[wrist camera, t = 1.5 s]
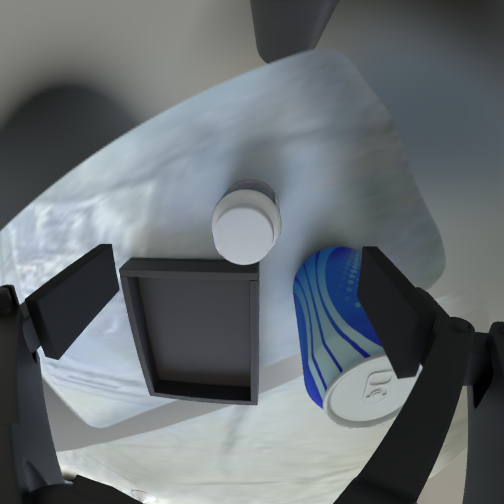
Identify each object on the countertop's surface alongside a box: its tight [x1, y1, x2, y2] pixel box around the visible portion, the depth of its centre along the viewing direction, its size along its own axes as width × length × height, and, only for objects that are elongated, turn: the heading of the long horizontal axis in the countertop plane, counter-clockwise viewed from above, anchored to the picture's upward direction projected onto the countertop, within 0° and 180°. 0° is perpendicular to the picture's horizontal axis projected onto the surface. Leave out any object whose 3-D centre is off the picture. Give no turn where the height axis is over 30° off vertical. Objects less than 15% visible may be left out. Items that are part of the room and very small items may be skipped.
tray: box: [119, 258, 259, 405], centre depth 32 cm, size 18×14×3 cm
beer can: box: [293, 247, 423, 429], centre depth 23 cm, size 8×8×16 cm
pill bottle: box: [211, 180, 281, 265], centre depth 24 cm, size 5×5×9 cm
